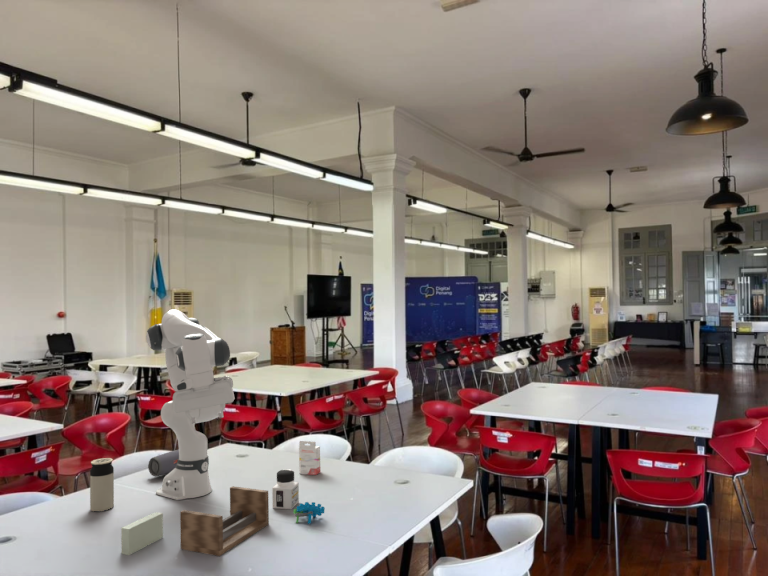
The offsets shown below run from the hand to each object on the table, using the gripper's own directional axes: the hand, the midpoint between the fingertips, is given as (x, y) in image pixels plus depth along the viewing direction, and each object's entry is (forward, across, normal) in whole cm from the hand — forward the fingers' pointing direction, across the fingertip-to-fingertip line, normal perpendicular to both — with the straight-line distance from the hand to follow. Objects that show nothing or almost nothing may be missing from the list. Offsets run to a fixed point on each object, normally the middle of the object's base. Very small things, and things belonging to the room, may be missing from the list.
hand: (207, 420), depth 191 cm
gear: (+42, -28, +1) cm, 50 cm away
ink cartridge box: (+42, -32, -55) cm, 76 cm away
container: (+40, -21, -16) cm, 48 cm away
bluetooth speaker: (+33, +29, -72) cm, 84 cm away
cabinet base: (+37, -2, +8) cm, 38 cm away
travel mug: (+30, +47, -29) cm, 63 cm away
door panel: (+34, +24, +10) cm, 42 cm away
